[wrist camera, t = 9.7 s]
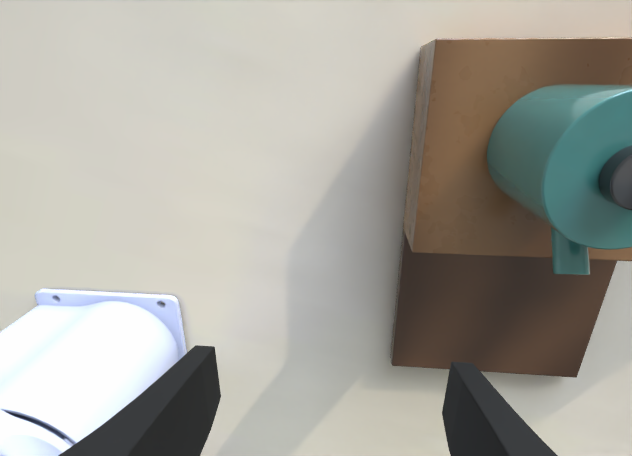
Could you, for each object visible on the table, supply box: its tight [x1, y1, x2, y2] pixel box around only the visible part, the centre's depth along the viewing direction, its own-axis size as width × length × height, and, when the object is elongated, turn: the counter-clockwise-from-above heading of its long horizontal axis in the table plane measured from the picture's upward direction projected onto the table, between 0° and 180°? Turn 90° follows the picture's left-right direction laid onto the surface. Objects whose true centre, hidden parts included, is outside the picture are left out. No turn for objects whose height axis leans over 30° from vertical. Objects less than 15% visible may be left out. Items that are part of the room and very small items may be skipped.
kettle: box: [487, 84, 632, 275], centre depth 13 cm, size 7×5×5 cm
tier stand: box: [390, 37, 632, 377], centre depth 18 cm, size 11×18×3 cm, turn 0°
